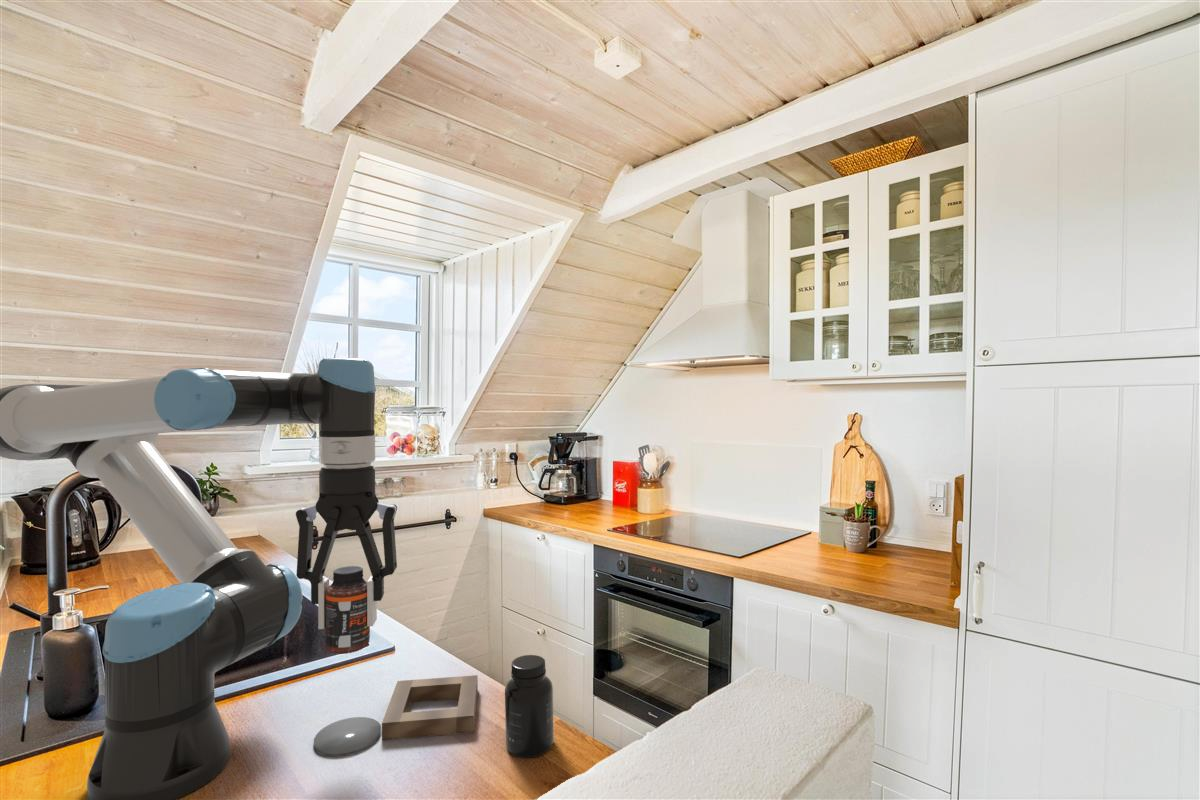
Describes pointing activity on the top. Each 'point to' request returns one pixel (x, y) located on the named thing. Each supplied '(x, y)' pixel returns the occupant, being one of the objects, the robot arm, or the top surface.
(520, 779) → the top surface
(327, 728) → the slate coaster
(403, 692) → the frame
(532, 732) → the supplement bottle
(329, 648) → the supplement bottle
